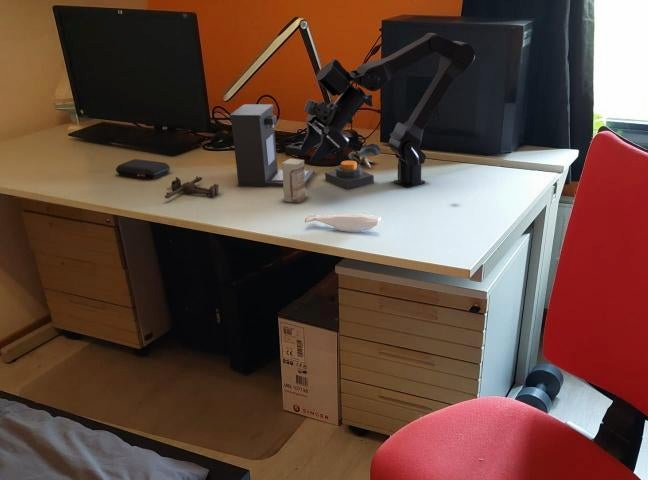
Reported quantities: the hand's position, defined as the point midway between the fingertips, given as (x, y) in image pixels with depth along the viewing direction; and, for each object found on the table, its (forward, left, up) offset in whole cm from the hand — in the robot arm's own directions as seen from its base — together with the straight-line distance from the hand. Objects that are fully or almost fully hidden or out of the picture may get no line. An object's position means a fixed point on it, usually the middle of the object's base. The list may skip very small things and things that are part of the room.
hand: (306, 157), depth 185 cm
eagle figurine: (+13, -28, -11) cm, 33 cm away
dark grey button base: (+4, -16, -11) cm, 20 cm away
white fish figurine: (-26, +6, -11) cm, 29 cm away
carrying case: (+50, +27, -11) cm, 58 cm away
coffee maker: (+19, -2, -11) cm, 22 cm away
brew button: (+4, -16, -7) cm, 18 cm away
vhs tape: (+37, -24, -11) cm, 46 cm away
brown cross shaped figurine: (+23, +23, -11) cm, 34 cm away
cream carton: (+1, +3, -11) cm, 11 cm away
